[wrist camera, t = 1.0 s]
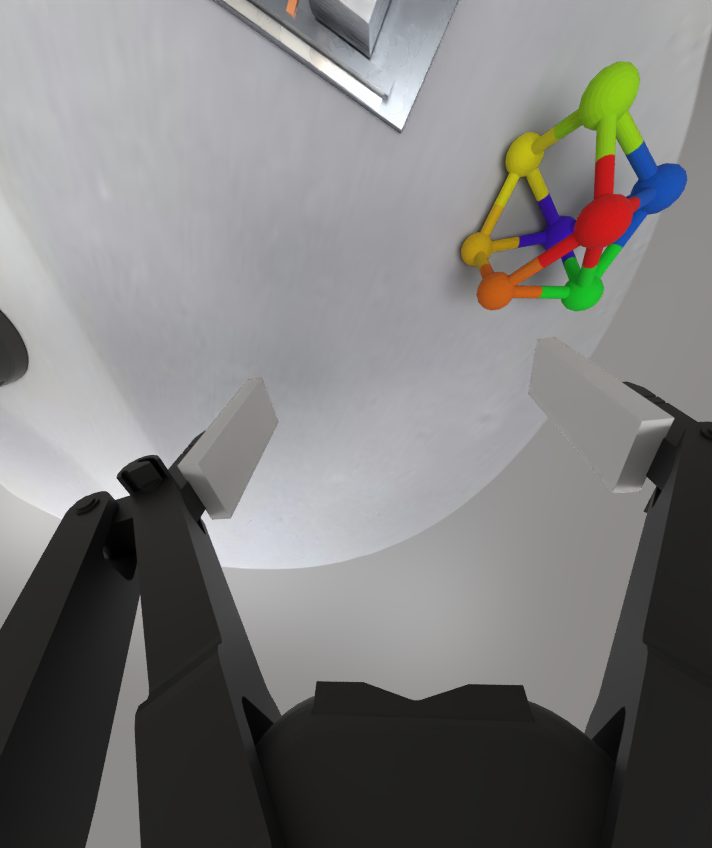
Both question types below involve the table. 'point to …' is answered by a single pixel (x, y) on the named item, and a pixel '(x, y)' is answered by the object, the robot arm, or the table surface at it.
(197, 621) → the robot arm
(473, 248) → the educational toy
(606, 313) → the table surface
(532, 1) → the table surface
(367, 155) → the table surface
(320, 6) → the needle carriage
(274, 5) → the base
